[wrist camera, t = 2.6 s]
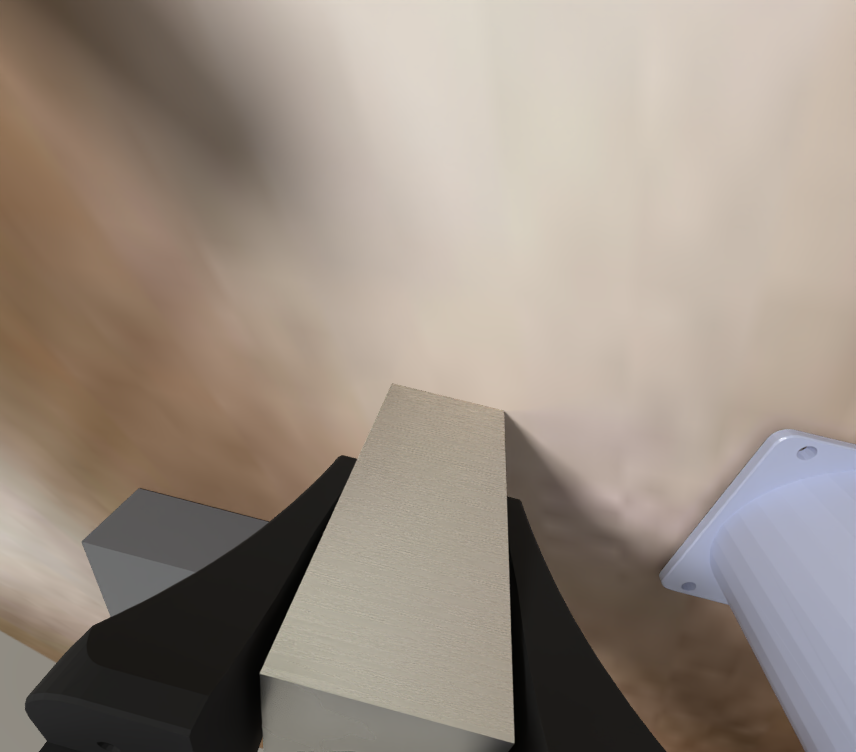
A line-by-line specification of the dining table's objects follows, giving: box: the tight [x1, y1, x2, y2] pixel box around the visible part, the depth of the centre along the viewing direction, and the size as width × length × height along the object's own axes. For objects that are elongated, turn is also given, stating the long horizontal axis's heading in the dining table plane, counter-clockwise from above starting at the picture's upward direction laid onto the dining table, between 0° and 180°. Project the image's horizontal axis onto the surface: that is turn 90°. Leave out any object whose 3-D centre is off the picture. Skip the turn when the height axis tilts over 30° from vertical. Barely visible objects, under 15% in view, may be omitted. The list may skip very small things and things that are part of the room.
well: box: [82, 488, 269, 617], centre depth 20 cm, size 12×12×3 cm
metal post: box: [260, 383, 515, 752], centre depth 11 cm, size 4×4×9 cm
